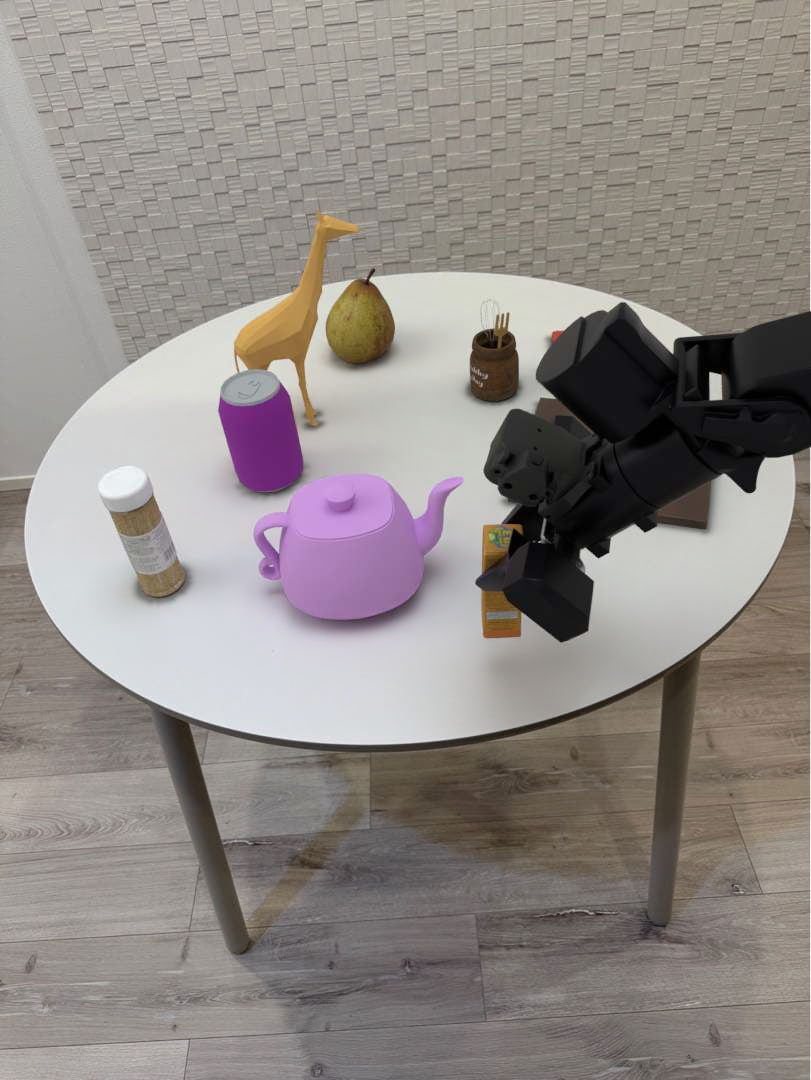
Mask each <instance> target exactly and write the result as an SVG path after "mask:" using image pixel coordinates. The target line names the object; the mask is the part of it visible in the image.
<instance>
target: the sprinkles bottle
mask: <svg viewBox="0 0 811 1080" xmlns="http://www.w3.org/2000/svg"><path fill="white" fill-rule="evenodd" d="M97 493H98V495H99V498H100V500H101V502H102V505H103V506H104V507H105V509H107V511H108V513H109V515H110V518H111V519H112V521H113V524H114V526H115V529H116V533H117V535H118V537H119V539H120V542H121V544H122V547H123V549H124V552H125V553H126V554H125V555H127V558H128V560H129V563H130V566H131V567H132V569H133V570H134V572H135V574H136V576H137V579H138V581H139V585H140V588H141V590H142V591H143V592H144V593H145V594H146V595H147V596H151V597H154V598H155V597H156V598H159V597H166V596H169V595H171V594H173V593H175V592H176V591H178V590H179V589H180V588H181V587H182V586H183V584H184V582H185V580H186V572H185V569H184V568H183V566H182V565H181V562H180V560H179V558H178V553H177V549H176V546H175V543H174V542H173V538H172V536H171V533H170V531H169V528H168V525H167V523H166V520H165V518H164V515H163V513H162V511H161V510H160V507H159V505H158V502H157V500H156V497H155V493H154V486H153V484H152V482H151V479H150V476H149V474H148V473H147V472H146V470H144V469H143V468H142V467H139V466H135V465H126V466H121V467H118V468H115V469H113V470H111V471H109V472H107V473H106V474H105V475H103V477H101V479H100V481H98V485H97Z"/></svg>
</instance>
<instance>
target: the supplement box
mask: <svg viewBox="0 0 811 1080" xmlns="http://www.w3.org/2000/svg"><path fill="white" fill-rule="evenodd" d="M513 528H515V529H516V530H517V531H518V532H519V533H521V534H522V535H523V528H522V525H519V524H501V523H500V524H499V523H497V524H483V525H482V537H481V538H482V541H481V542H482V543H481V574H482V573H483V572H484V571H486V570H487V569H488V568H489V567H490V566H492V565H493V564H494V563H495V562H497V561H498V560H499V559H500V558H502V557H503V556H504V555H505V554H506V553H507V551H508V547H509V542H510V538H511V534H512V530H513ZM480 590H481V593H480V594H481V597H480V598H481V599H480V600H481V602H480V603H481V606H480V607H481V626H482V627H481V628H482V635H483V638H484V639H506V638H507V639H510V638H520V637H522V614H523V613H522V612H521V611H520V610H518V609H517V608H516V607H515V606H513V605H512V604H511V603H509V602H508V601H507V600H506V597H505V595H504V593H503V592H500V591H483V590H482V589H480Z"/></svg>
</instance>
